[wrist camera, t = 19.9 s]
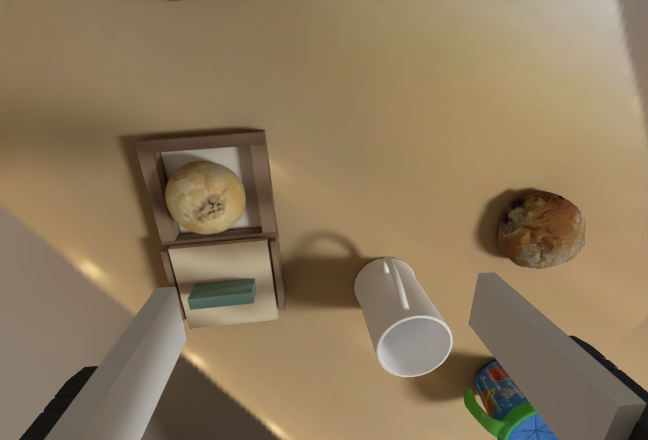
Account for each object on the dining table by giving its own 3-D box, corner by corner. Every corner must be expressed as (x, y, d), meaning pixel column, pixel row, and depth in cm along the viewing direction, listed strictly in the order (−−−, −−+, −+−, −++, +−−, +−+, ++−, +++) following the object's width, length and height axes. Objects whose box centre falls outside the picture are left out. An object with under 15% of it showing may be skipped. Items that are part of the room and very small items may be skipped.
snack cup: (552, 358, 52) (609, 416, 42) (520, 404, 55) (567, 468, 45) (468, 341, 49) (509, 400, 39) (440, 392, 52) (472, 457, 43)
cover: (170, 246, 36) (157, 262, 33) (267, 237, 37) (264, 252, 33) (191, 324, 40) (181, 346, 37) (278, 315, 41) (276, 335, 37)
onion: (206, 234, 38) (187, 262, 32) (161, 179, 36) (131, 197, 29) (261, 201, 38) (254, 223, 31) (220, 142, 35) (203, 152, 28)
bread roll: (486, 249, 48) (524, 293, 42) (484, 207, 40) (530, 254, 35) (549, 218, 47) (596, 259, 41) (559, 170, 39) (618, 212, 34)
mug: (348, 240, 41) (367, 293, 30) (412, 230, 41) (456, 278, 30) (357, 314, 45) (377, 385, 34) (415, 304, 46) (454, 372, 34)
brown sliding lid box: (144, 138, 35) (129, 143, 31) (264, 130, 35) (261, 133, 32) (188, 307, 42) (179, 324, 39) (285, 297, 43) (285, 313, 40)
